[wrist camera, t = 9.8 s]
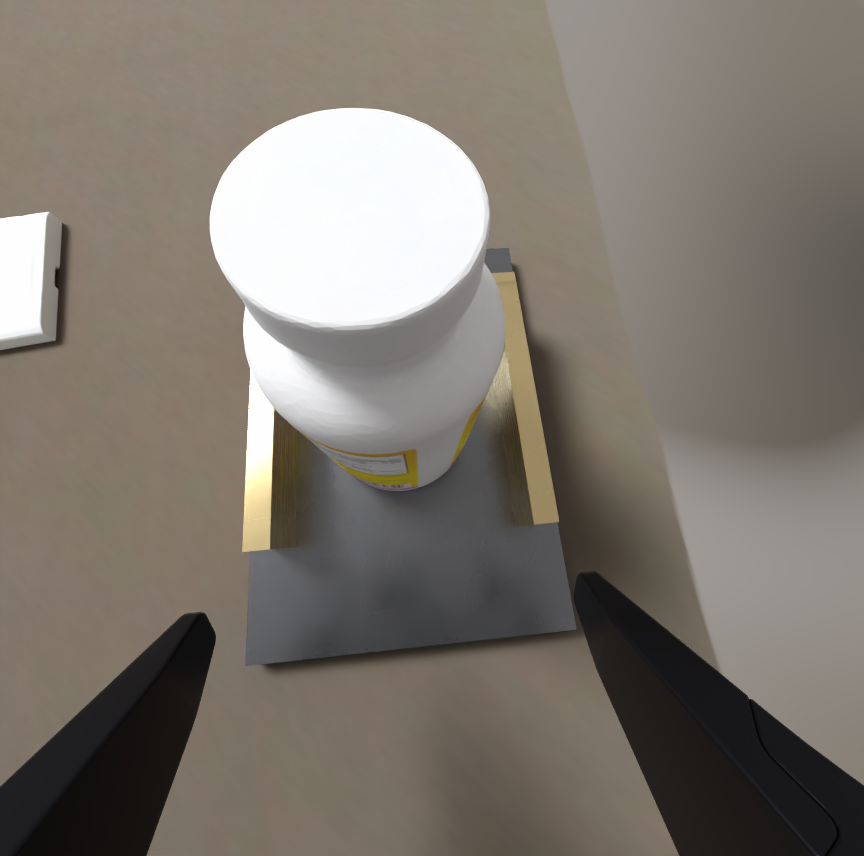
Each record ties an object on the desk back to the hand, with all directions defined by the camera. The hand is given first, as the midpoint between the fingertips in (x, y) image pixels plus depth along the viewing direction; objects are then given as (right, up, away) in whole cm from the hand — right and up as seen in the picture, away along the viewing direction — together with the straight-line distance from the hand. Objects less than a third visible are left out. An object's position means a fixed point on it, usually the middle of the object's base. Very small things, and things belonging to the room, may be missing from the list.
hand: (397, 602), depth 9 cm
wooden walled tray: (-1, +4, +10) cm, 11 cm away
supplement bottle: (-1, +4, +10) cm, 11 cm away
